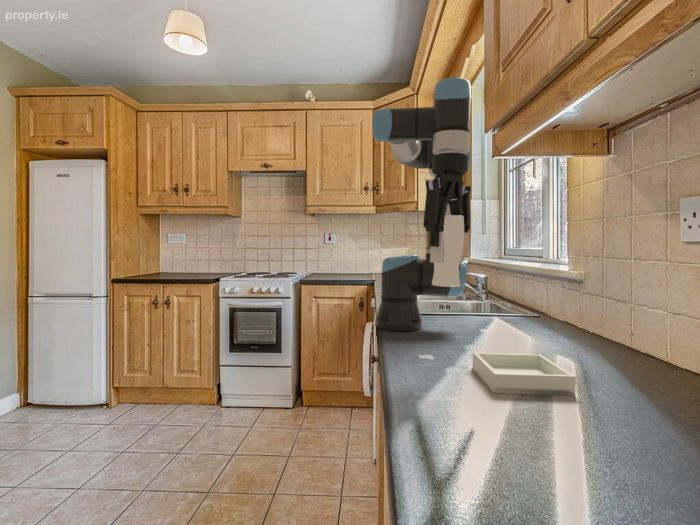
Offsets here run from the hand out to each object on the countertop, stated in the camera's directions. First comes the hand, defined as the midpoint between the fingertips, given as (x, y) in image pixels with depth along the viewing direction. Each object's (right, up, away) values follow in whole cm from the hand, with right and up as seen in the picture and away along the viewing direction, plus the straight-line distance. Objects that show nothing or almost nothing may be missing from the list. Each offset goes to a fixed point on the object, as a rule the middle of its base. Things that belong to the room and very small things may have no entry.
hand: (446, 262), depth 88 cm
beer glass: (0, -5, 0) cm, 5 cm away
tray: (+13, -24, -7) cm, 28 cm away
